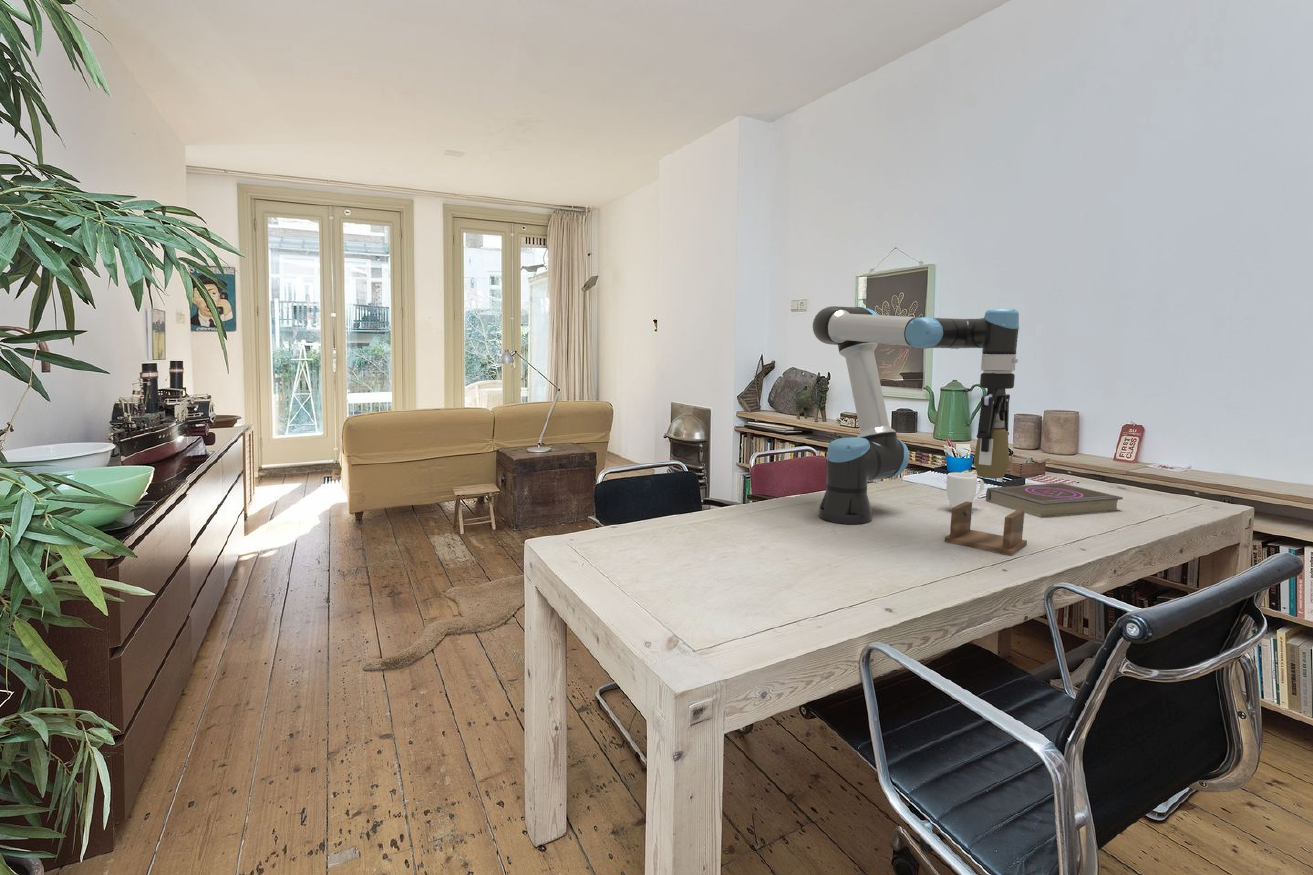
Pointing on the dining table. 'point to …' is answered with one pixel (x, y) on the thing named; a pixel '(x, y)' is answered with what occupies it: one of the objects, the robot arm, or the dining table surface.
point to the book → (1053, 500)
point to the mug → (962, 488)
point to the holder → (986, 541)
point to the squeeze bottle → (995, 453)
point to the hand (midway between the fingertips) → (990, 462)
